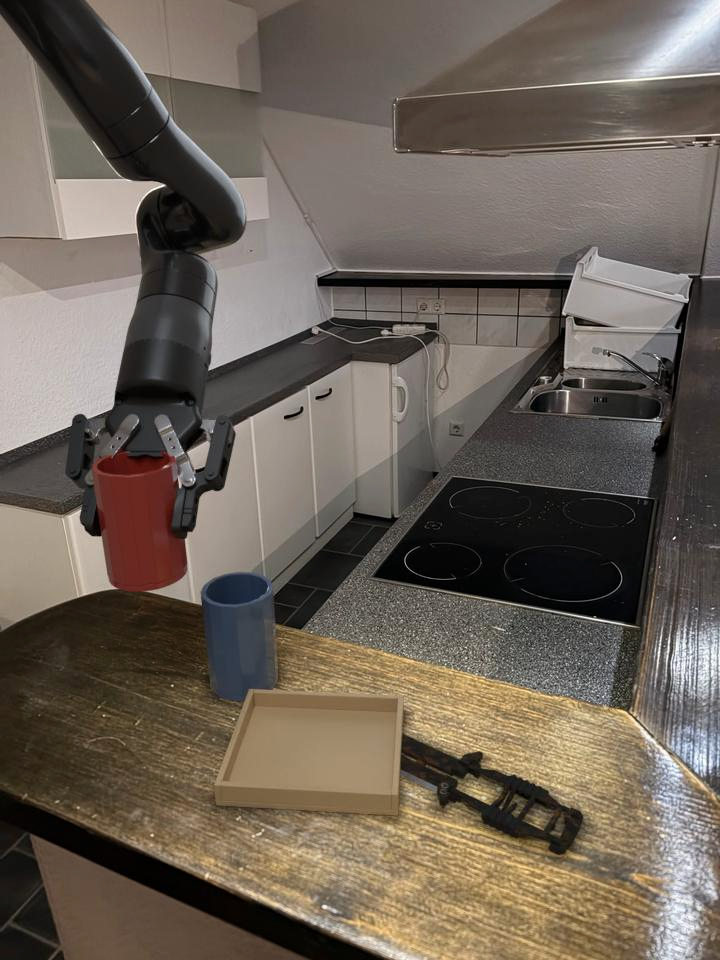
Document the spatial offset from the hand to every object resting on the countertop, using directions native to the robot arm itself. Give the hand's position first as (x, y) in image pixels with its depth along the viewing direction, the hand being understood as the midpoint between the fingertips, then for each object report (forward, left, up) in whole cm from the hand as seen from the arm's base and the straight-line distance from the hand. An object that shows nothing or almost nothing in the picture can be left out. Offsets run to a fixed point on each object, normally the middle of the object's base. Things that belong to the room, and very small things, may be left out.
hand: (135, 534), depth 62 cm
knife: (+24, -4, -19) cm, 31 cm away
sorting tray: (+15, -3, -18) cm, 24 cm away
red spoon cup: (0, +2, -4) cm, 5 cm away
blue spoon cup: (+6, +7, -18) cm, 20 cm away
